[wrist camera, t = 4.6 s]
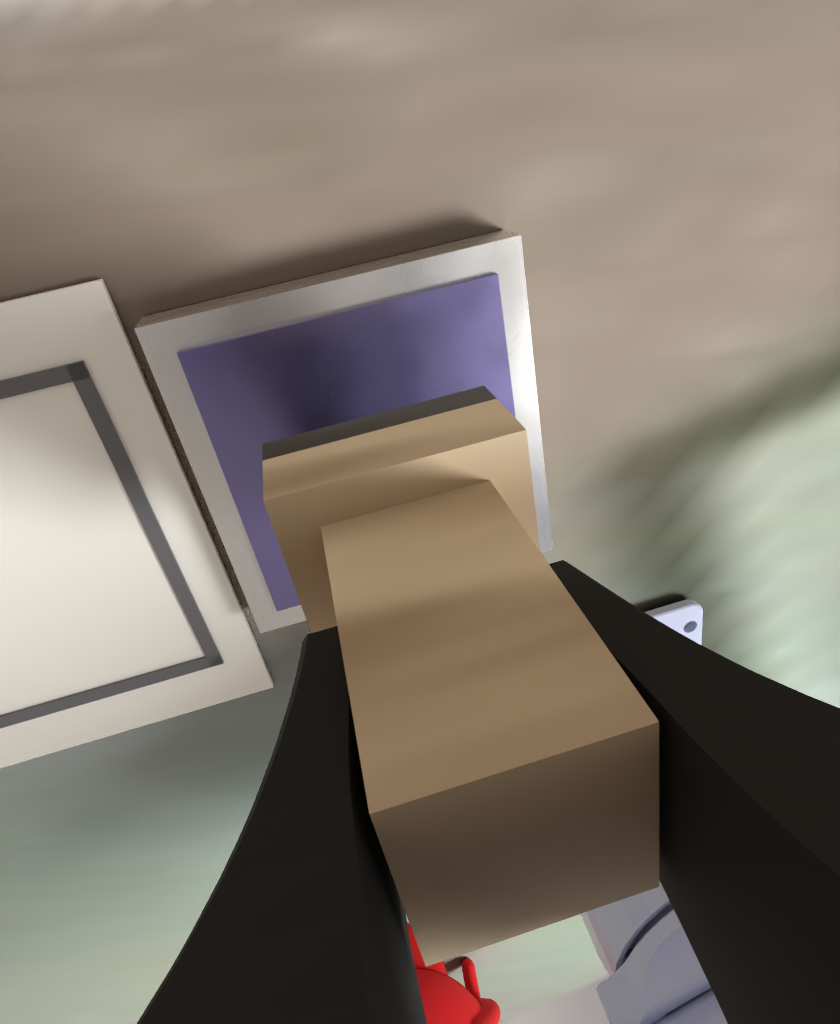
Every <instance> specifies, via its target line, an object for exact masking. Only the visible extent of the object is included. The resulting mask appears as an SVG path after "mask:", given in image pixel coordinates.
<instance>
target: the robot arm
mask: <svg viewBox="0 0 840 1024" xmlns="http://www.w3.org/2000/svg"><path fill="white" fill-rule="evenodd" d="M549 565H550V567H551V568H552V570H553V571H554V572H555V574H556V575H557V577H558V578H559V580H560V581H561V582H562V584H563V585H564V587H565V588H566V590H567V591H568V592H569V594H570V595H571V597H572V598H573V600H574V601H575V602H576V604H577V605H578V607H579V608H580V610H581V611H582V612H583V614H584V615H585V617H586V618H587V620H588V621H589V622H590V624H591V625H592V627H593V628H594V630H595V631H596V632H597V634H598V635H599V637H600V638H601V639H602V641H603V642H604V644H605V645H606V647H607V648H608V649H609V651H610V652H611V654H612V655H613V657H614V658H615V659H616V661H617V662H618V664H619V665H620V667H621V668H622V669H623V671H624V672H625V674H626V675H627V677H628V678H629V679H630V681H631V682H632V684H633V685H634V687H635V688H636V689H637V691H638V692H639V694H640V695H641V697H642V698H643V699H644V701H645V702H646V704H647V705H648V707H649V708H650V709H651V711H652V712H653V714H654V715H655V717H656V718H657V719H658V721H659V887H657V888H654V889H651V890H648V891H645V892H642V893H640V894H637V895H634V896H631V897H628V898H625V899H622V900H619V901H616V902H613V903H610V904H607V905H605V906H602V907H599V908H596V909H593V910H590V911H587V912H584V913H581V916H582V918H583V920H584V923H585V925H586V927H587V930H588V932H589V935H590V937H591V939H592V942H593V944H594V946H595V949H596V951H597V953H598V956H599V958H600V959H601V961H602V963H603V965H604V967H605V969H606V970H607V972H608V973H609V975H610V977H609V978H607V979H606V980H604V981H603V982H601V983H600V984H598V985H597V988H596V990H597V992H598V995H599V997H600V1000H601V1002H602V1005H603V1007H604V1010H605V1012H606V1014H607V1017H608V1020H609V1022H610V1024H840V708H837V707H835V706H832V705H830V704H827V703H825V702H822V701H820V700H817V699H815V698H812V697H810V696H807V695H805V694H803V693H800V692H798V691H796V690H794V689H791V688H789V687H787V686H785V685H782V684H780V683H778V682H776V681H773V680H771V679H769V678H766V677H764V676H762V675H760V674H757V673H755V672H753V671H751V670H749V669H747V668H745V667H743V666H741V665H739V664H737V663H735V662H733V661H731V660H729V659H727V658H725V657H723V656H721V655H719V654H717V653H715V652H713V651H711V650H710V649H708V648H706V647H704V646H702V645H701V641H702V618H703V610H702V607H701V606H700V605H699V604H698V603H697V602H696V601H695V600H692V599H687V600H683V601H680V602H676V603H673V604H670V605H666V606H663V607H660V608H656V609H653V610H650V611H646V612H643V611H642V610H640V609H638V608H637V607H635V606H634V605H632V604H630V603H629V602H627V601H626V600H624V599H623V598H621V597H619V596H618V595H616V594H615V593H613V592H612V591H610V590H609V589H607V588H606V587H604V586H602V585H601V584H599V583H598V582H596V581H595V580H593V579H592V578H590V577H589V576H587V575H586V574H584V573H583V572H581V571H580V570H578V569H577V568H575V567H574V566H572V565H570V564H569V563H567V562H566V561H564V560H562V561H558V562H555V563H551V564H549ZM688 622H689V623H688ZM687 623H688V624H687ZM137 1024H427V1021H426V1016H425V1011H424V1006H423V1002H422V997H421V992H420V988H419V983H418V978H417V973H416V969H415V964H414V959H413V954H412V950H411V944H410V938H409V931H408V925H407V919H406V912H405V909H404V906H403V904H402V901H401V898H400V896H399V893H398V890H397V888H396V885H395V882H394V879H393V877H392V874H391V871H390V869H389V866H388V863H387V861H386V858H385V855H384V852H383V850H382V847H381V844H380V842H379V839H378V836H377V834H376V831H375V828H374V825H373V823H372V820H371V817H370V815H369V809H368V803H367V798H366V792H365V786H364V780H363V774H362V768H361V762H360V756H359V750H358V744H357V738H356V733H355V727H354V721H353V715H352V709H351V703H350V697H349V691H348V685H347V679H346V674H345V668H344V662H343V656H342V650H341V644H340V638H339V632H338V626H335V627H331V628H328V629H324V630H321V631H318V632H314V633H311V634H308V635H307V636H306V638H305V639H304V641H303V642H302V649H301V655H300V660H299V665H298V669H297V674H296V678H295V682H294V686H293V689H292V693H291V697H290V701H289V704H288V708H287V711H286V714H285V717H284V720H283V723H282V727H281V730H280V733H279V736H278V739H277V743H276V746H275V748H274V751H273V754H272V757H271V760H270V762H269V765H268V768H267V770H266V773H265V775H264V778H263V781H262V783H261V786H260V788H259V791H258V794H257V796H256V799H255V802H254V804H253V806H252V809H251V811H250V814H249V816H248V818H247V821H246V823H245V825H244V828H243V830H242V832H241V834H240V837H239V839H238V841H237V843H236V845H235V847H234V850H233V852H232V854H231V856H230V858H229V860H228V862H227V864H226V866H225V869H224V871H223V873H222V875H221V877H220V879H219V881H218V883H217V885H216V887H215V888H214V890H213V892H212V894H211V896H210V898H209V900H208V902H207V904H206V906H205V907H204V909H203V911H202V913H201V915H200V917H199V919H198V921H197V923H196V925H195V926H194V928H193V930H192V932H191V934H190V936H189V937H188V939H187V941H186V943H185V945H184V946H183V948H182V950H181V952H180V954H179V955H178V957H177V959H176V960H175V962H174V964H173V966H172V967H171V969H170V971H169V972H168V974H167V976H166V977H165V979H164V980H163V982H162V984H161V985H160V987H159V989H158V990H157V992H156V993H155V995H154V997H153V998H152V1000H151V1002H150V1003H149V1005H148V1006H147V1008H146V1010H145V1011H144V1013H143V1015H142V1016H141V1018H140V1019H139V1021H138V1023H137Z"/></svg>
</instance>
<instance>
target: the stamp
mask: <svg viewBox="0 0 840 1024" xmlns="http://www.w3.org/2000/svg"><path fill="white" fill-rule="evenodd" d="M262 461H263V501H264V504H265V507H266V510H267V512H268V515H269V518H270V521H271V524H272V526H273V529H274V532H275V535H276V537H277V540H278V543H279V546H280V548H281V551H282V554H283V557H284V560H285V562H286V565H287V568H288V571H289V573H290V576H291V579H292V582H293V584H294V587H295V590H296V593H297V595H298V598H299V601H300V604H301V607H302V609H303V612H304V615H305V618H306V620H307V623H308V626H309V629H310V631H311V633H314V632H318V631H321V630H324V629H328V628H331V627H335V626H338V632H339V638H340V644H341V650H342V656H343V662H344V668H345V674H346V679H347V685H348V691H349V697H350V703H351V709H352V715H353V721H354V727H355V733H356V738H357V744H358V750H359V756H360V762H361V768H362V774H363V780H364V786H365V792H366V798H367V803H368V809H369V815H370V817H371V820H372V823H373V825H374V828H375V831H376V834H377V836H378V839H379V842H380V844H381V847H382V850H383V852H384V855H385V858H386V861H387V863H388V866H389V869H390V871H391V874H392V877H393V879H394V882H395V885H396V888H397V890H398V893H399V896H400V898H401V901H402V904H403V906H404V909H405V912H406V915H407V917H408V920H409V923H410V925H411V928H412V931H413V933H414V936H415V939H416V941H417V944H418V947H419V950H420V952H421V955H422V958H423V960H424V963H425V966H426V967H427V966H430V965H433V964H436V963H438V962H441V961H444V960H447V959H450V958H453V957H456V956H459V955H462V954H465V953H468V952H471V951H473V950H476V949H479V948H482V947H485V946H488V945H491V944H494V943H497V942H500V941H503V940H505V939H508V938H511V937H514V936H517V935H520V934H523V933H526V932H529V931H532V930H535V929H538V928H540V927H543V926H546V925H549V924H552V923H555V922H558V921H561V920H564V919H567V918H570V917H573V916H575V915H578V914H581V913H584V912H587V911H590V910H593V909H596V908H599V907H602V906H605V905H607V904H610V903H613V902H616V901H619V900H622V899H625V898H628V897H631V896H634V895H637V894H640V893H642V892H645V891H648V890H651V889H654V888H657V887H659V721H658V719H657V718H656V717H655V715H654V714H653V712H652V711H651V709H650V708H649V707H648V705H647V704H646V702H645V701H644V699H643V698H642V697H641V695H640V694H639V692H638V691H637V689H636V688H635V687H634V685H633V684H632V682H631V681H630V679H629V678H628V677H627V675H626V674H625V672H624V671H623V669H622V668H621V667H620V665H619V664H618V662H617V661H616V659H615V658H614V657H613V655H612V654H611V652H610V651H609V649H608V648H607V647H606V645H605V644H604V642H603V641H602V639H601V638H600V637H599V635H598V634H597V632H596V631H595V630H594V628H593V627H592V625H591V624H590V622H589V621H588V620H587V618H586V617H585V615H584V614H583V612H582V611H581V610H580V608H579V607H578V605H577V604H576V602H575V601H574V600H573V598H572V597H571V595H570V594H569V592H568V591H567V590H566V588H565V587H564V585H563V584H562V582H561V581H560V580H559V578H558V577H557V575H556V574H555V572H554V571H553V570H552V568H551V567H550V565H549V564H548V562H547V561H546V560H545V558H544V557H543V555H542V554H541V552H540V544H539V536H538V527H537V518H536V509H535V501H534V492H533V483H532V474H531V466H530V457H529V448H528V439H527V431H526V429H525V428H524V427H523V426H522V425H521V424H520V422H519V421H518V420H517V419H516V418H515V417H514V416H513V415H512V414H511V413H510V412H509V411H508V410H507V409H506V408H505V407H504V406H503V405H502V404H501V403H500V402H499V400H498V399H497V398H496V397H495V396H494V395H493V394H492V393H491V392H490V391H489V390H488V389H487V388H486V387H485V386H480V387H476V388H473V389H469V390H465V391H461V392H457V393H454V394H450V395H446V396H442V397H438V398H435V399H431V400H427V401H423V402H419V403H416V404H412V405H408V406H404V407H400V408H396V409H393V410H389V411H385V412H381V413H377V414H374V415H370V416H366V417H362V418H358V419H355V420H351V421H347V422H343V423H339V424H335V425H332V426H328V427H324V428H320V429H316V430H313V431H309V432H305V433H301V434H297V435H294V436H290V437H286V438H282V439H278V440H275V441H271V442H267V443H263V444H262Z"/></svg>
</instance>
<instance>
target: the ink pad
mask: <svg viewBox="0 0 840 1024" xmlns="http://www.w3.org/2000/svg"><path fill="white" fill-rule="evenodd" d="M134 330H135V332H136V335H137V337H138V340H139V342H140V344H141V347H142V349H143V352H144V354H145V356H146V359H147V361H148V364H149V366H150V368H151V371H152V373H153V376H154V378H155V381H156V383H157V385H158V388H159V390H160V393H161V395H162V397H163V400H164V402H165V405H166V407H167V410H168V412H169V414H170V417H171V419H172V422H173V424H174V426H175V429H176V431H177V434H178V436H179V439H180V441H181V443H182V446H183V448H184V451H185V453H186V455H187V458H188V460H189V463H190V465H191V467H192V470H193V472H194V475H195V477H196V480H197V482H198V484H199V487H200V489H201V492H202V494H203V496H204V499H205V501H206V504H207V506H208V509H209V511H210V513H211V516H212V518H213V521H214V523H215V525H216V528H217V530H218V533H219V535H220V537H221V540H222V542H223V545H224V547H225V550H226V552H227V554H228V557H229V559H230V562H231V564H232V566H233V569H234V571H235V574H236V576H237V579H238V581H239V583H240V586H241V588H242V591H243V593H244V595H245V598H246V600H247V603H248V605H249V607H250V610H251V612H252V615H253V617H254V620H255V622H256V624H257V627H258V629H259V632H260V634H261V633H264V632H268V631H271V630H275V629H278V628H282V627H285V626H289V625H292V624H296V623H299V622H303V621H306V618H305V615H304V612H303V609H302V607H301V604H300V601H299V598H298V595H297V593H296V590H295V587H294V584H293V582H292V579H291V576H290V573H289V571H288V568H287V565H286V562H285V560H284V557H283V554H282V551H281V548H280V546H279V543H278V540H277V537H276V535H275V532H274V529H273V526H272V524H271V521H270V518H269V515H268V512H267V510H266V507H265V504H264V501H263V461H262V444H263V443H267V442H271V441H275V440H278V439H282V438H286V437H290V436H294V435H297V434H301V433H305V432H309V431H313V430H316V429H320V428H324V427H328V426H332V425H335V424H339V423H343V422H347V421H351V420H355V419H358V418H362V417H366V416H370V415H374V414H377V413H381V412H385V411H389V410H393V409H396V408H400V407H404V406H408V405H412V404H416V403H419V402H423V401H427V400H431V399H435V398H438V397H442V396H446V395H450V394H454V393H457V392H461V391H465V390H469V389H473V388H476V387H480V386H485V387H486V388H487V389H488V390H489V391H490V392H491V393H492V394H493V395H494V396H495V397H496V398H497V399H498V400H499V402H500V403H501V404H502V405H503V406H504V407H505V408H506V409H507V410H508V411H509V412H510V413H511V414H512V415H513V416H514V417H515V418H516V419H517V420H518V421H519V422H520V424H521V425H522V426H523V427H524V428H525V429H526V431H527V439H528V448H529V457H530V466H531V474H532V483H533V492H534V501H535V509H536V518H537V527H538V536H539V544H540V552H541V553H542V552H545V551H549V550H552V549H553V545H552V535H551V525H550V516H549V506H548V496H547V486H546V476H545V466H544V457H543V447H542V437H541V427H540V417H539V408H538V398H537V388H536V378H535V368H534V358H533V349H532V339H531V329H530V319H529V309H528V299H527V290H526V280H525V270H524V260H523V250H522V241H521V235H519V234H516V233H513V232H510V231H507V230H500V231H496V232H492V233H488V234H484V235H480V236H475V237H471V238H467V239H463V240H459V241H455V242H451V243H446V244H442V245H438V246H434V247H430V248H426V249H421V250H417V251H413V252H409V253H405V254H401V255H396V256H392V257H388V258H384V259H380V260H376V261H372V262H367V263H363V264H359V265H355V266H351V267H347V268H342V269H338V270H334V271H330V272H326V273H322V274H317V275H313V276H309V277H305V278H301V279H297V280H293V281H288V282H284V283H280V284H276V285H272V286H268V287H263V288H259V289H255V290H251V291H247V292H243V293H238V294H234V295H230V296H226V297H222V298H218V299H214V300H209V301H205V302H201V303H197V304H193V305H189V306H184V307H180V308H176V309H172V310H168V311H164V312H160V313H155V314H151V315H147V316H143V317H142V318H141V319H140V321H139V322H138V324H137V325H136V327H135V328H134Z"/></svg>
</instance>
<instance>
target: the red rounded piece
mask: <svg viewBox="0 0 840 1024" xmlns="http://www.w3.org/2000/svg"><path fill="white" fill-rule="evenodd" d="M408 931H409V938H410V944H411V950H412V954H413V959H414V964H415V969H416V973H417V978H418V983H419V988H420V992H421V997H422V1002H423V1006H424V1011H425V1016H426V1021H427V1024H498V1022H499V1019H500V1009H499V1006H498V1004H497V1003H496V1002H495V1001H493V1000H492V999H485V998H480V993H479V988H478V983H477V978H476V973H475V967H474V963H473V962H472V960H470V959H468V958H466V959H464V960H463V962H462V971H463V977H464V982H465V987H466V988H465V987H464V986H463V985H461V984H460V983H459V982H457V981H456V980H454V979H453V978H451V977H449V976H448V975H447V972H446V969H445V966H444V963H443V961H441V962H438V963H436V964H433V965H430V966H427V967H426V966H425V963H424V960H423V958H422V955H421V952H420V950H419V947H418V944H417V941H416V939H415V936H414V933H413V931H412V928H411V925H408Z"/></svg>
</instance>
